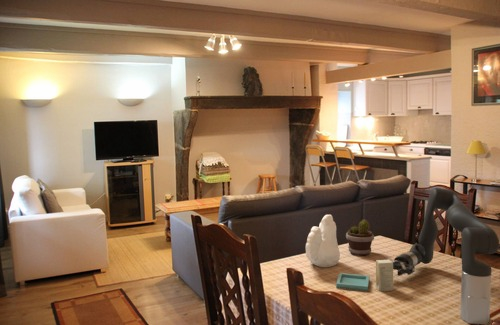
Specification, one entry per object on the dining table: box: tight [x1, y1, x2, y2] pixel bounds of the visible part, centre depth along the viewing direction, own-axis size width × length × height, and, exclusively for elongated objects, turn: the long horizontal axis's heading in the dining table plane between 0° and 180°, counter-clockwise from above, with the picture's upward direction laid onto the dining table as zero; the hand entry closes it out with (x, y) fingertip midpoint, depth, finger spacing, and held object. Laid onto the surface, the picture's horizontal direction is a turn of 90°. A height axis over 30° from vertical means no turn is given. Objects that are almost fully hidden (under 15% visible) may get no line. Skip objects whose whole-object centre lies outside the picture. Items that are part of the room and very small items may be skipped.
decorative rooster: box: [305, 214, 341, 268], centre depth 207 cm, size 25×16×25 cm, turn 130°
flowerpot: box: [345, 218, 375, 256], centre depth 226 cm, size 14×15×20 cm
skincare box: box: [375, 259, 394, 292], centre depth 178 cm, size 6×4×12 cm
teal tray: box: [335, 272, 370, 292], centre depth 184 cm, size 13×13×2 cm
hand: (388, 270), depth 180 cm, fingers open, 8 cm apart
